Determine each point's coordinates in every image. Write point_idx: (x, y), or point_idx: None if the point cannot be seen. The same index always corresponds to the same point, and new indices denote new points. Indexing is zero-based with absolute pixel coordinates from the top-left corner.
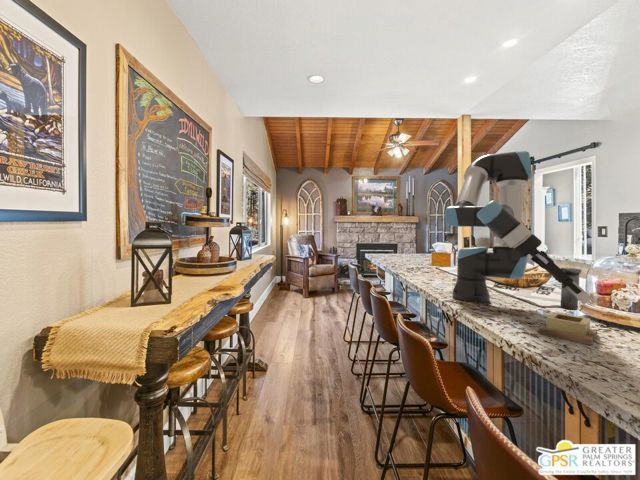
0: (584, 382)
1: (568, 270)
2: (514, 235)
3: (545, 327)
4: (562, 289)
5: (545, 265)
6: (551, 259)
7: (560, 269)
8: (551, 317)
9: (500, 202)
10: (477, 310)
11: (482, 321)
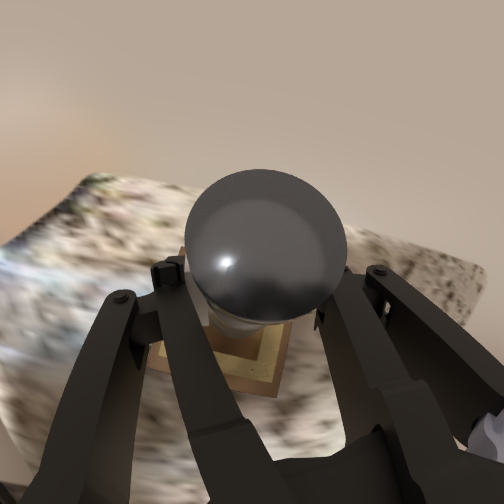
0: (469, 307)
1: (341, 266)
2: None
3: (244, 381)
4: (264, 326)
5: (479, 415)
6: (439, 407)
7: (450, 321)
8: (258, 368)
9: None
10: None
11: None
